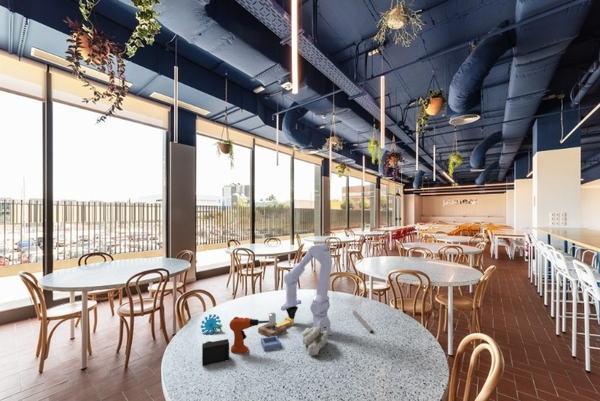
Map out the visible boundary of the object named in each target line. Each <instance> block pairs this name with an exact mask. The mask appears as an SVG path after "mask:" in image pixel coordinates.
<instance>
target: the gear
mask: <svg viewBox="0 0 600 401" xmlns="http://www.w3.org/2000/svg"><path fill="white" fill-rule="evenodd" d="M218 323H219V324H218ZM222 327H223V324H222V323H221V319H220V317H219V315H216V314H213V315H212V314H208V316H205V317H204V320H202V321H201V325H200V329H201V332H202V333H204V334H206V335H208V334H209V335H212V334H213V331H214V332H217V331H218V330H220V331H222Z"/></svg>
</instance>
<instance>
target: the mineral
mask: <svg viewBox="0 0 600 401" xmlns="http://www.w3.org/2000/svg"><path fill="white" fill-rule="evenodd" d="M321 330H322V329H321V328H320V327H313V326H311V328H310V327H306V328H305V329H304V331H303V332H302V344H303V345H305V346H308V347H307V352H308V353H309V355H311V356H316V355H317V356H318V355H319V351H320V350H321V349H323V348H325V346H326V344H327V341H328V338H329V336H330V335H329V332H328V331H321Z"/></svg>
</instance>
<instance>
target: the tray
mask: <svg viewBox="0 0 600 401" xmlns="http://www.w3.org/2000/svg"><path fill="white" fill-rule="evenodd" d="M260 345H261V347H262V349H263V352H266V351H267V352H268V351H272V350H278V349H281V348H282V342H281V341H280V339H279V337H278V336H272V337H267V336H265V337H261V338H260Z"/></svg>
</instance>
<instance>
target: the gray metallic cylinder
mask: <svg viewBox="0 0 600 401" xmlns="http://www.w3.org/2000/svg"><path fill="white" fill-rule="evenodd" d="M276 316H277V315H276V313H275V312H270V313H268V321H269V329H270V330H274V329H276V323H277V321H276V318H277V317H276Z"/></svg>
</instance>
